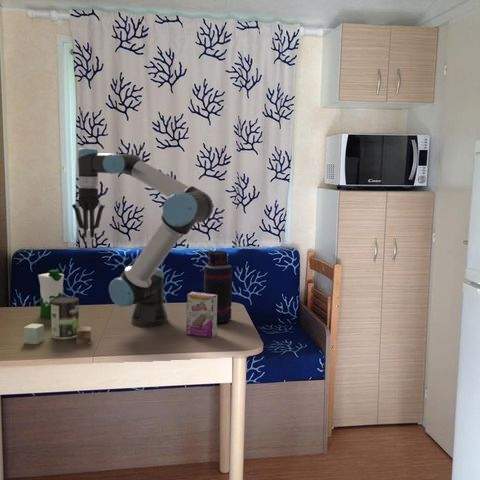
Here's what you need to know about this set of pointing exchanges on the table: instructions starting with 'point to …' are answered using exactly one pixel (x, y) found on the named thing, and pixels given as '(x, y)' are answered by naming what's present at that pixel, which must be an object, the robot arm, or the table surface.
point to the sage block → (34, 333)
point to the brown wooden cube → (83, 335)
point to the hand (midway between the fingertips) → (89, 245)
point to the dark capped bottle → (219, 283)
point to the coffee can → (64, 317)
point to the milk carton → (50, 290)
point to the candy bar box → (201, 314)
